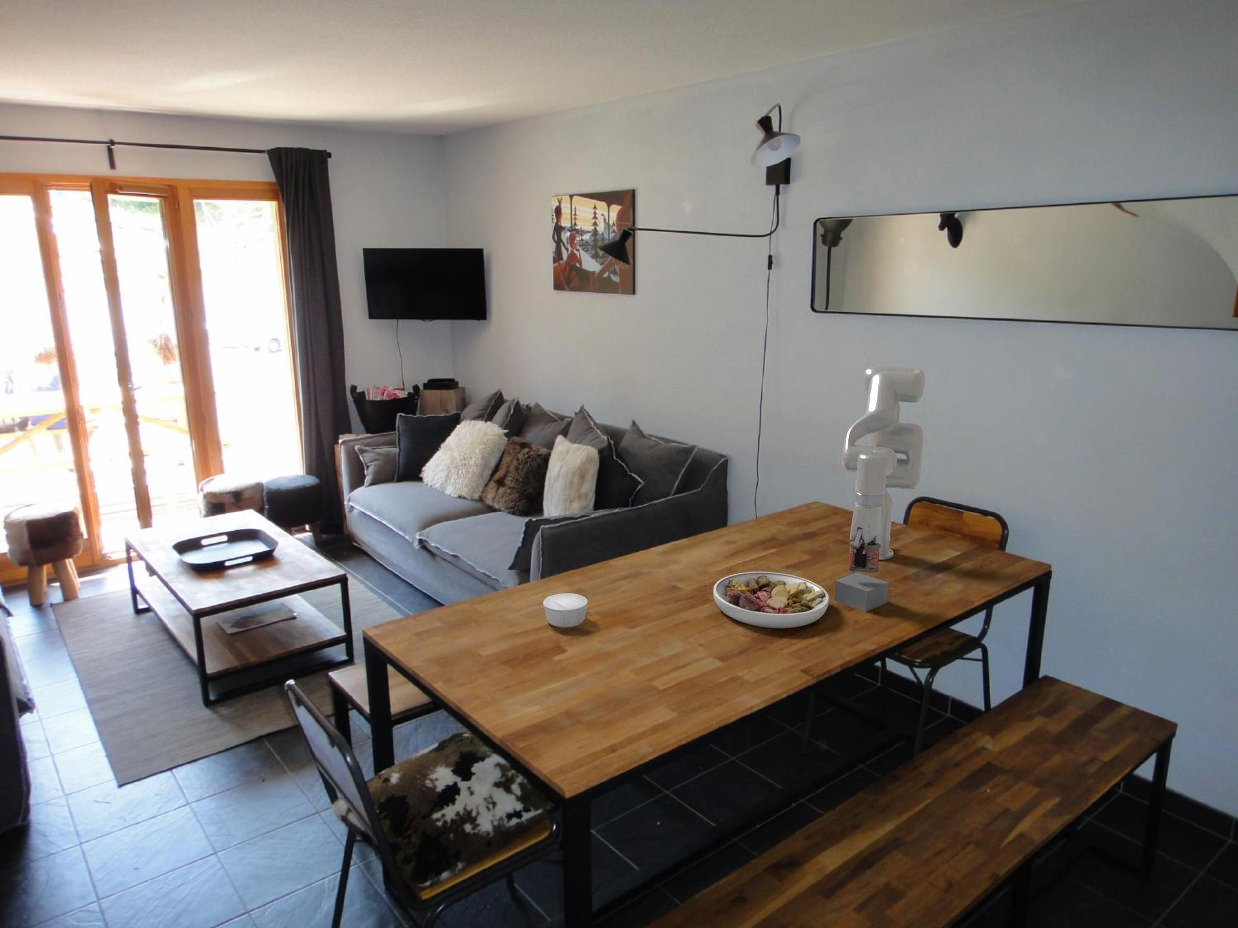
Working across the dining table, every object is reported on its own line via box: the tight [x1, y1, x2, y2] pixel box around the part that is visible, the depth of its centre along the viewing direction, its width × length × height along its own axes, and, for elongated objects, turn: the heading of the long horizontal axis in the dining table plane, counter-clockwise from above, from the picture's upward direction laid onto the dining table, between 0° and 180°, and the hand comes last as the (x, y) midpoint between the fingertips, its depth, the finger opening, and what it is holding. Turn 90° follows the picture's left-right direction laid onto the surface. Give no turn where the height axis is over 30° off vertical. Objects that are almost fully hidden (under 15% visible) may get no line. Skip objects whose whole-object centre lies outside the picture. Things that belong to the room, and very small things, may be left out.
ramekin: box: [542, 592, 589, 628], centre depth 213 cm, size 11×11×5 cm
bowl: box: [713, 571, 830, 629], centre depth 222 cm, size 30×30×8 cm
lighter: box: [847, 537, 881, 573], centre depth 225 cm, size 8×3×10 cm, turn 81°
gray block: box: [833, 572, 890, 613], centre depth 228 cm, size 10×10×6 cm
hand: (863, 563), depth 226 cm, fingers closed on lighter, 4 cm apart
